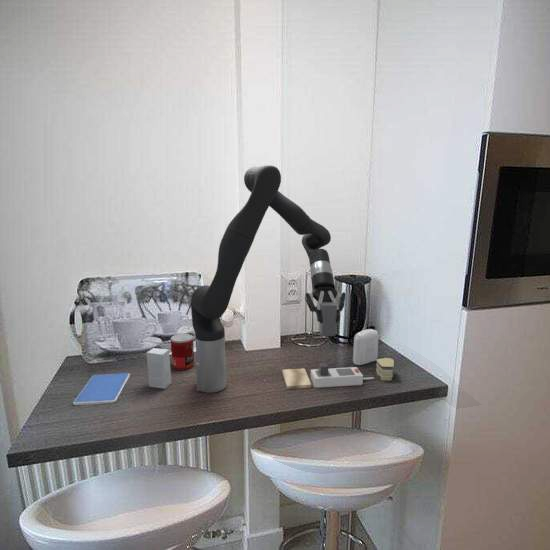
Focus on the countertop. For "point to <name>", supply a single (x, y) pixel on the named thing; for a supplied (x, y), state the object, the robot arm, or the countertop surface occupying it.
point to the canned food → (182, 351)
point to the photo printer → (365, 347)
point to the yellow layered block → (385, 368)
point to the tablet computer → (102, 389)
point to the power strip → (336, 376)
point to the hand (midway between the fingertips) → (329, 321)
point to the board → (296, 378)
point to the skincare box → (159, 368)
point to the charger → (328, 319)
